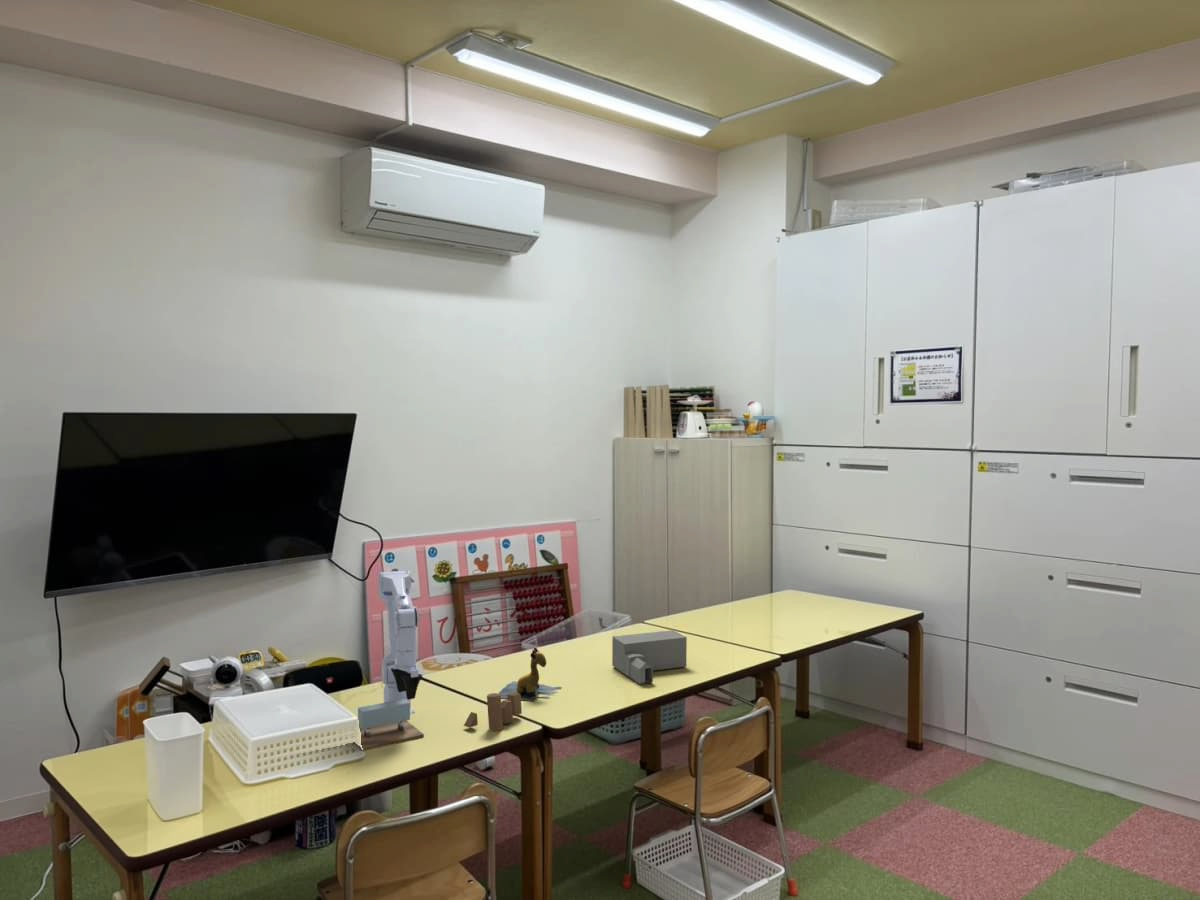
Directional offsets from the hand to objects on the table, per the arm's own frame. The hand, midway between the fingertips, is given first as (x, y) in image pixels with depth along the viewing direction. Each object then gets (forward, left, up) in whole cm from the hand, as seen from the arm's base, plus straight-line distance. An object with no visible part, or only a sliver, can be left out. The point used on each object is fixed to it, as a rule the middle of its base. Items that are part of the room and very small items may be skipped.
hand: (406, 695), depth 256 cm
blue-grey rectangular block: (+2, -7, -6) cm, 10 cm away
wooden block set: (+12, +23, -10) cm, 29 cm away
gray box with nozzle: (-7, +98, -11) cm, 98 cm away
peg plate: (+2, -7, -10) cm, 13 cm away
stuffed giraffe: (-9, +46, -11) cm, 48 cm away
